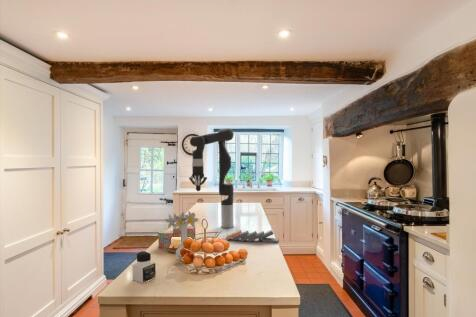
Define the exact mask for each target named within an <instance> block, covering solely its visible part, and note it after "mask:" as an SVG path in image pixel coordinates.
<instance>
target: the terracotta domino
mask: <svg viewBox="0 0 476 317" xmlns="http://www.w3.org/2000/svg"><path fill="white" fill-rule="evenodd" d="M241 233H243V232H242V230H241V229H240V230H238V231H235V232H232V233H229V234H227V235H226V236H225V238H224V239H225V241H228V240H231V239H233V238H234V237H236V236H239V235H241Z"/></svg>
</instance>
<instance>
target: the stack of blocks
mask: <svg viewBox="0 0 476 317" xmlns="http://www.w3.org/2000/svg"><path fill="white" fill-rule="evenodd" d="M157 235H158V236H157V238H158V249H170V248H169V247H170V245H171V238H172V237H181V230H179V228H178V226H177V227H176V228H174V227H172V230H160V231H159V232H158V233H157ZM187 237H191V238H192V239H193V240H194V239H195V240H196V225H195V226H194V227H192V226H191V225H188V226H187Z"/></svg>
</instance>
